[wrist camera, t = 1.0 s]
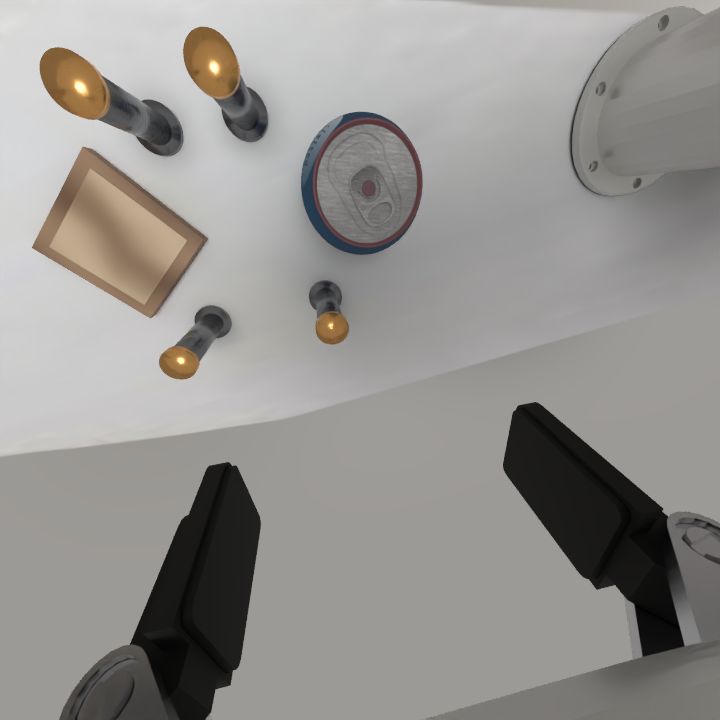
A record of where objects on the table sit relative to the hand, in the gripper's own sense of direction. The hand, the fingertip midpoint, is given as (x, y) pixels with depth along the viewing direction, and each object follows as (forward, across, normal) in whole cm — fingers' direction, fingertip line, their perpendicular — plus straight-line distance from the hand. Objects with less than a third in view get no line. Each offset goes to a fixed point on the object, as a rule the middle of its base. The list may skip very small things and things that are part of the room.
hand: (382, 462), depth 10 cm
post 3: (+22, +12, +1) cm, 25 cm away
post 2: (+22, +4, -14) cm, 27 cm away
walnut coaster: (+22, +16, -7) cm, 28 cm away
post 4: (+22, +1, 0) cm, 22 cm away
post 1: (+22, +11, -14) cm, 28 cm away
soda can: (+22, -2, -8) cm, 24 cm away
